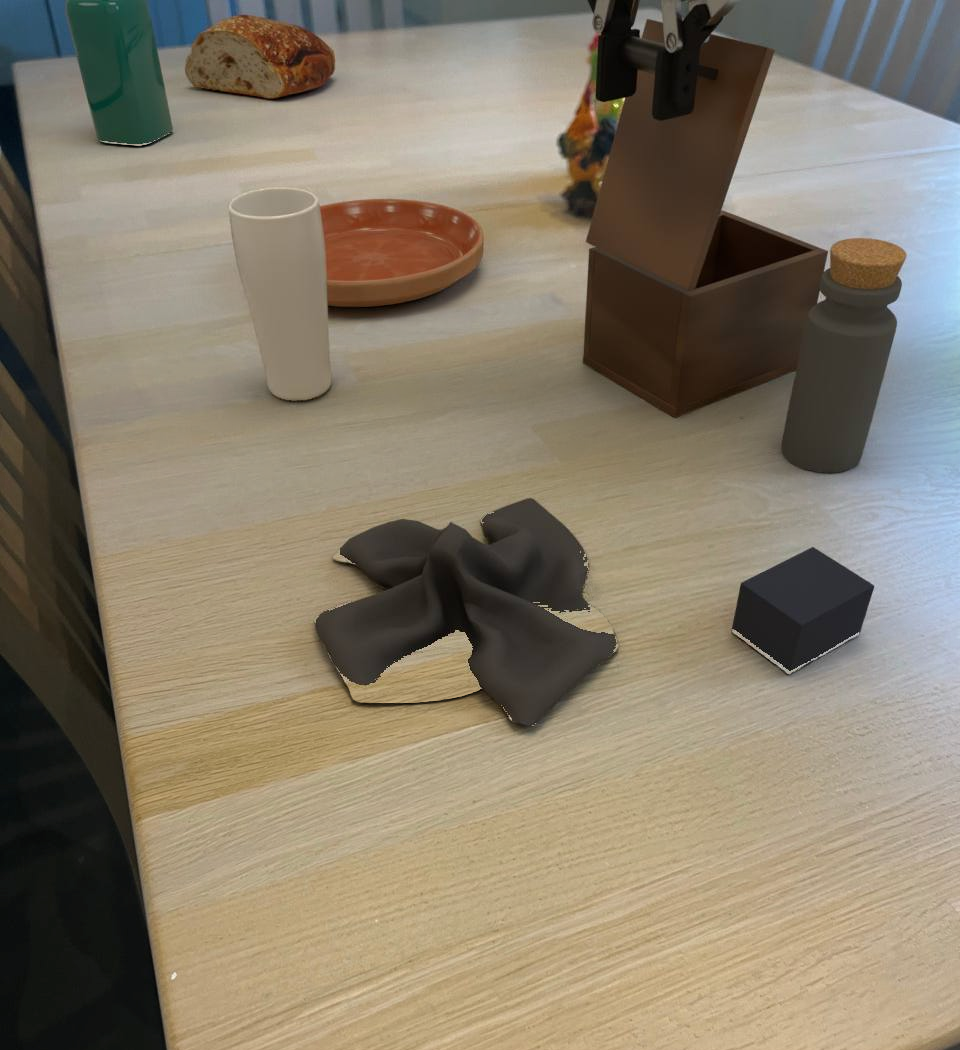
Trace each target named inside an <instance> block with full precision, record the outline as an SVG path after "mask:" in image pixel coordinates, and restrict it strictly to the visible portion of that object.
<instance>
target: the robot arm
mask: <svg viewBox="0 0 960 1050" xmlns="http://www.w3.org/2000/svg"><path fill="white" fill-rule="evenodd" d="M640 2H641V0H587V3H588V5H589V7H590V9H591V11H592V14H593V16H592V22H591V24H592V25H591V26H592V30H593V31H594V33H595V34H597V35H598V36H597V38H598V39H597V52H596V53H597V54H596V74H595V75H596V76H595V93H594V94H595V99H596V101H598V102H601V103H607V102H612V101H616V100H621V99H625V97H630V96H633V95H634V94H635V92H636V87H637V73H638V69H634V68H631V67H627V66H624V65H623V64H622V63H621V61H620V59H619V49H620V46H621V44H622V42H623V41H624V39H625V38H627V37H629V36H635V37H639V38H641V35H640V34H641V29H638V28H633V26H634V25H635V23H636V19H637V15H638V11H639V6H640ZM741 2H742V0H660V7H661V18H662V19H661V20H662V22H663V31H664V42H665V47H666V49H665V50H660V51H657V56H656V67H655V79H654V91H653V104H652V116H653V118H654V119H656V120H659V121H663V120H667V119H671V118H675V117H680V116H684V115H688V114H691V113H692V111H693V109H694V102H695V93H696V84H697V74H698V65H699V56H700V47H704V46H706V45H707V44H708V42H709V39H710V34H713V32H714V31H715V29H716V28H717V27H718V26H719V25H720V24H721V22H722V21H723V20H724V17H726V16H727V15H728V14H729V13H731V11H732V10H733V9H734V8H735V7H736V6H737V5H739V4H740V3H741ZM683 3H687V7H688V14H686V16H685V17H684V18H683V11H682V10H683V9H682V4H683Z"/></svg>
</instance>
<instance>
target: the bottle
mask: <svg viewBox="0 0 960 1050" xmlns="http://www.w3.org/2000/svg"><path fill="white" fill-rule="evenodd" d="M829 253H830V254H829V255H830V256H829V268H827V269H825V270H824V272H823V274H822V276H821V281H820V287H819V289H820V293H821V294H822V295H823V297H825V299H823V300H821V301H819V302H817V304H816V305H814V306H813V307H812V308H811V309H810V311H809V313H808V317H807V321H806V326H805V330H804V335H803V340H802V344H801V349H800V354H799V359H798V363H797V368H796V370H795V373H794V378H793V383H792V389H791V393H790V398H789V402H788V406H787V407H788V408H787V413H786V418H785V422H784V428H783V432H782V438H781V445H780V449H781V450H780V451H781V453H782V455H783V457H784V458H785V459H786V460H787V461H789V463H791V464H794V465H795V466H797V467H799V468H801V469H804V470H808V471H811V472H815V473H816V472H817V473H824V474H833V473H843V472H846V471H848V470H851V469H854V468H855V467H856V466H858V464H859V463H860V461H861V460H862V457H863V453H864V450H865V447H866V444H867V440H868V436H869V432H870V430H871V429H870V428H871V425H872V421H873V418H874V415H875V411H876V406H877V403H878V399H879V396H880V392H881V388H882V386H883V385H882V384H883V381H884V378H885V373H886V369H887V367H888V361H889V358H890V354H891V351H892V347H893V344H894V339H895V335H896V331H897V326H898V319H897V316H896V315H895V314H894V312H893V311H892V310H891V309H890V308H888V306H889V305H891V304H893V303H895V302H896V301H898V299H899V298H900V294H901V290H902V287H903V282H902V279H901V277H900V276H899V273H900V271H901V269H902V268H903V265H904V263H905V261H906V260H907V252H906V251H905V250H904V248H902V247H900V246H899V245H897V244H894V243H893V242H889V241H886V240H882V239H877V238H868V237H856V238H855V237H854V238H845V239H841V240H839V241H837V242H836V241H835V243H833V244H832V245H831V246H830V249H829Z"/></svg>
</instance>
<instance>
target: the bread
mask: <svg viewBox="0 0 960 1050" xmlns="http://www.w3.org/2000/svg"><path fill="white" fill-rule="evenodd" d="M190 50H191V52H190V53H189V54H188V55H187V57H186V59H185V65H184V73H185V76H186V78H187V80H188V81H189V83H190V84H191V85H193V86H194V87H195V86H196V87H195V88H198V87H203V88H209V89H213V90H212V91H215V90H220V91H219V92H227V93H233V94H239V95H248V96H253V97H258V98H264V99H278V98H282V97H286V96H290V95H295V94H300V93H304V92H308V91H311V90H315V89H317V88H320V87H322V86H324V85H325V84H326V83H327V82H328V81H329V79H330V77H331V76H332V75H333V74H334V72H335V70H336V56H335V51H334V50H333V48H332V47H330V46H329V44H327V42H325V41H324V40H323V39H322V38H320V36H318V35H317V34H315V33H313V32H312V31H309V30H308V29H306V28H305V27H302V26H300V25H296V24H293V23H290V22H289V23H288V22H284V21H278V20H275V19H270V18H267V17H262V16H258V15H257V16H256V15H252V14H236V15H233V16H231V17H230V16H229V17H227V18H223V19H221V20H220V21H218V22H216V23H215V24H214V25H212V26H211V27H209V28H207V29H205V30H202V32H200V33H199V34H198V35H197V36H196V38H195V39H194V41H193V43H192V45H191V49H190Z"/></svg>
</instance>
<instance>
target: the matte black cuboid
mask: <svg viewBox="0 0 960 1050" xmlns="http://www.w3.org/2000/svg"><path fill="white" fill-rule="evenodd" d="M874 589H875V585H874V584H873V583H871V582H870V581H868V580H866V579H865V578H864V577H862V576H861V575H858V574H857V573H855V572H853V570H850V569H849V568H848V567H846V566H845V565H843V564H841V563H840V562H838V561H837V560H835V559H833V558H832V557H830V556H828V554H825V553H824V552H822V551H820V550H819V549H817V548H816V547H815V546H811V547H810V548H807V549H805V550H804V551H802V552H800V553H797V554H796V555H794V556H792V557H790V558H788V559H785V560H784V561H782V562H780V563H777V564H776V565H774V566H772V567H769V568H767V569H765V570H764V571H762V572H760V573H758V574H756V575H754V576H751V577H750V578H748V579H746V580H744V581H742V582H741V583H740V586H739V589H738V595H737V600H736V605H735V611H734V615H733V622H732V626H731V630H732V629H734V630H736V631H737V632H739V633H740V634H742V636H743V637H745V638H746V639H748V640H750V642H751V643H753V644H754V645H756V647H759V649H761V650H762V651H763V652H765V653H767V654H768V655H770V657H773V659H774V660H776V661H777V662H779V663H780V664H782V665H783V667H785V668H786V669H788V670H789V671H791V670H793V669H795V668H797V667H798V666H800V665H802V664H804V663H807V662H808V661H811V659H813V658H816V657H818V656H819V655H820V654H823V653H824V652H826V651H828V650H829V649H831V648H833V647H835V646H836V645H837V644H839V643H841V642H843V641H844V640H846V639H848V638H849V637H851V636H853V635H855V634H856V633H858V632H860V633H861V631H862V628H863V625H864V622H865V618H866V615H867V612H868V608H869V605H870V602H871V599H872V596H873V592H874Z"/></svg>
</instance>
